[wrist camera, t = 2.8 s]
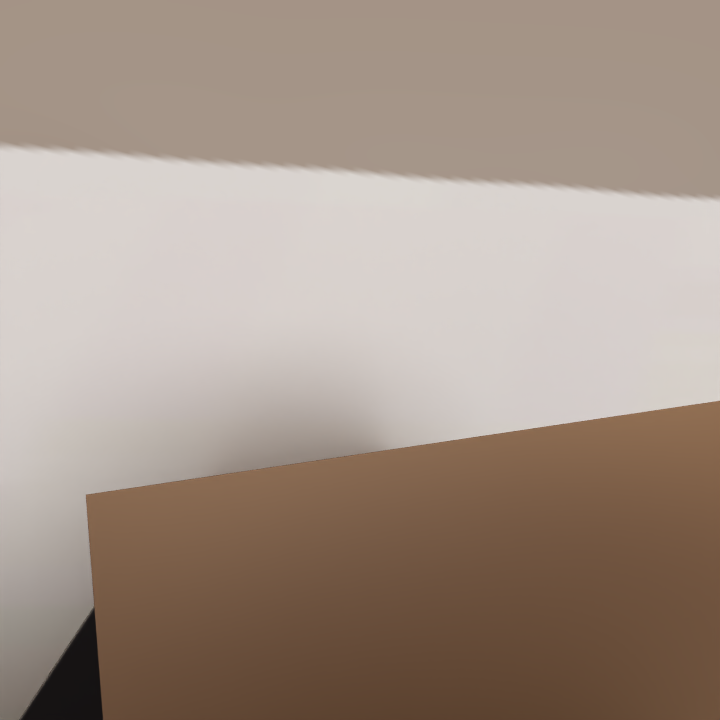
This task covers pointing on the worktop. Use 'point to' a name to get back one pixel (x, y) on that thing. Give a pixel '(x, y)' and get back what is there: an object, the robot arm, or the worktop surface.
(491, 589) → the walnut block
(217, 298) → the worktop surface
